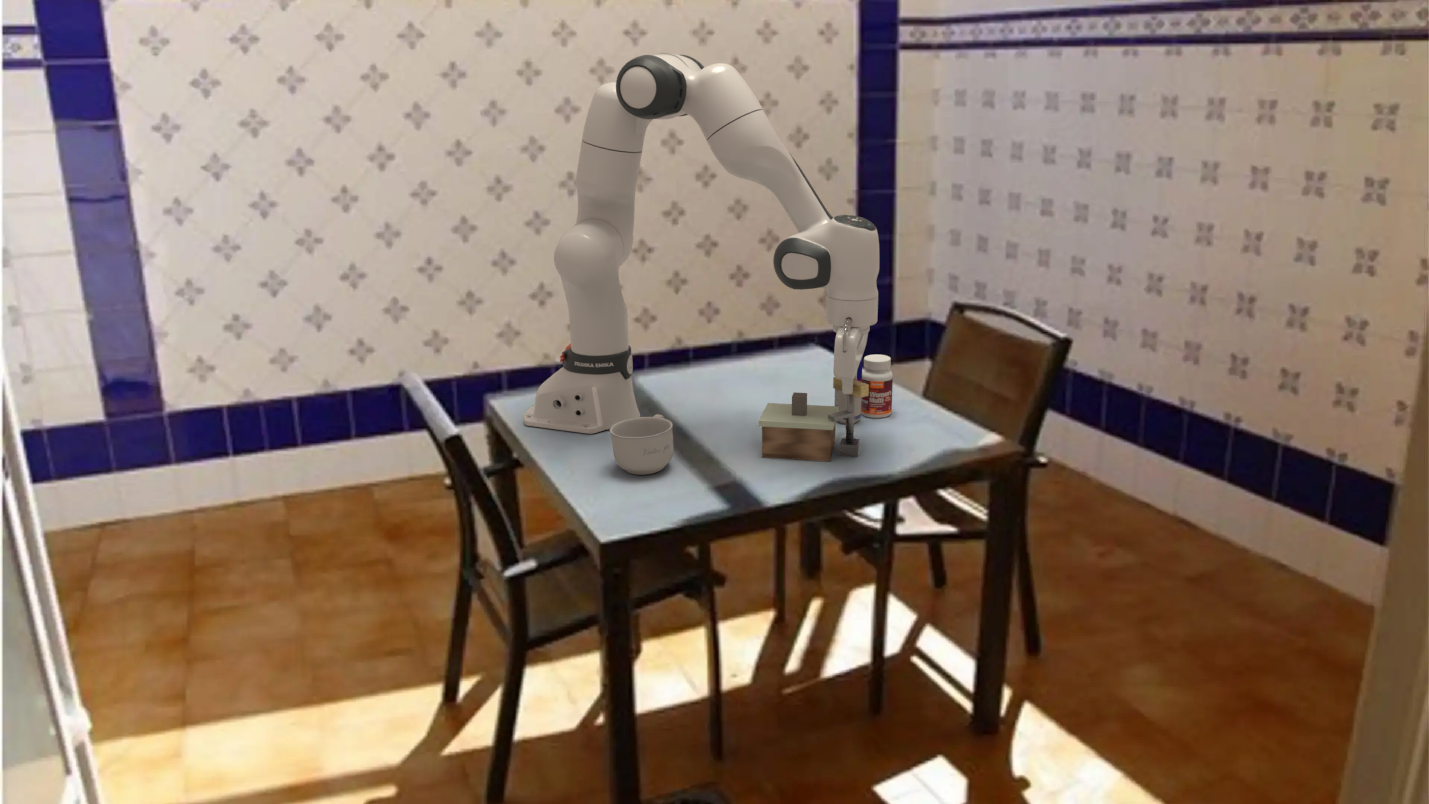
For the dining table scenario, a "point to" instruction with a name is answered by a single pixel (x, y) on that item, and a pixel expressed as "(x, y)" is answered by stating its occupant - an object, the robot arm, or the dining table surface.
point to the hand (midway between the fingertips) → (849, 388)
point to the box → (798, 443)
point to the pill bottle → (877, 386)
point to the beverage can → (842, 398)
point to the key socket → (849, 448)
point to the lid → (798, 414)
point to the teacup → (643, 444)
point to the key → (849, 405)
